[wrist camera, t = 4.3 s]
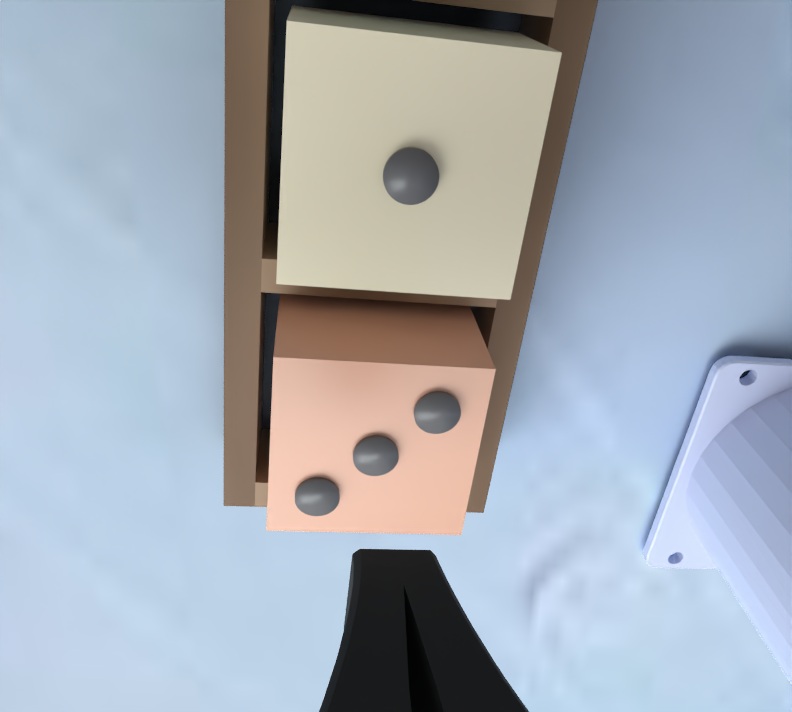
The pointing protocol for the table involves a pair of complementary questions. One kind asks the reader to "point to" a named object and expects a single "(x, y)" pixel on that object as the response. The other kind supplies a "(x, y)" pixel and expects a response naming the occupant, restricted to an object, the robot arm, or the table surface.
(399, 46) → the tile one
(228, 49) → the tile tray
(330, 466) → the tile three
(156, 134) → the table surface
